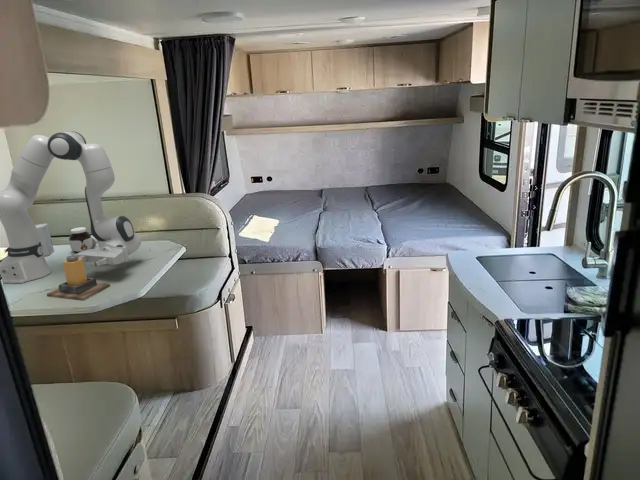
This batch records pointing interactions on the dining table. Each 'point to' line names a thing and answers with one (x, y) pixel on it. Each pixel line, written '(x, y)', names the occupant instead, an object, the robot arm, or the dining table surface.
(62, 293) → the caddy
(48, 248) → the skincare box
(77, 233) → the spread jar
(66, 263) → the cap
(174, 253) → the dining table surface
